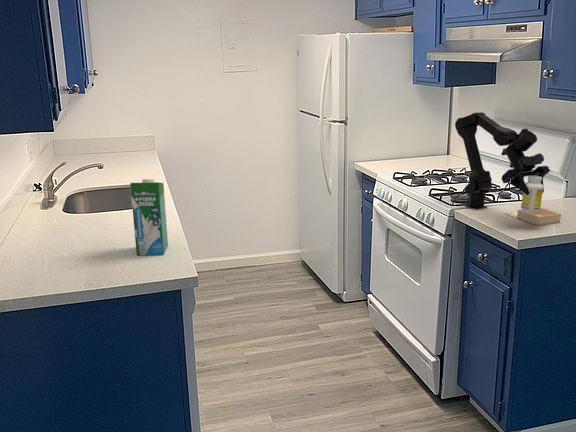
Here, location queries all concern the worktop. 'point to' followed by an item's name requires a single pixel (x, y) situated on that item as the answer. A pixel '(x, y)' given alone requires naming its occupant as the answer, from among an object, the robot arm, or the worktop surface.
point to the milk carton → (149, 217)
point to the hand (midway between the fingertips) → (535, 193)
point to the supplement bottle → (533, 194)
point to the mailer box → (537, 216)
